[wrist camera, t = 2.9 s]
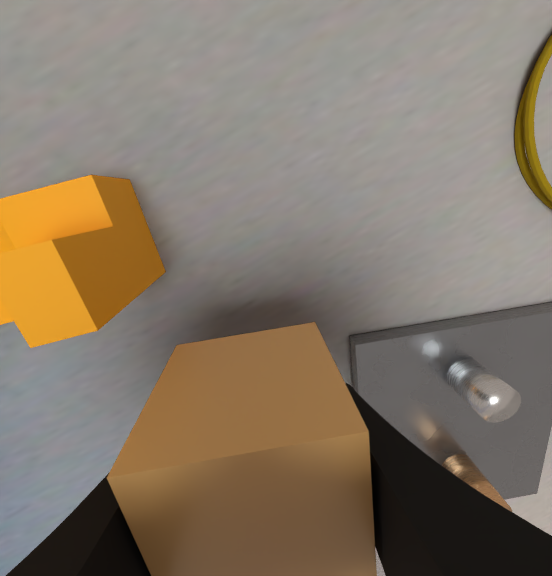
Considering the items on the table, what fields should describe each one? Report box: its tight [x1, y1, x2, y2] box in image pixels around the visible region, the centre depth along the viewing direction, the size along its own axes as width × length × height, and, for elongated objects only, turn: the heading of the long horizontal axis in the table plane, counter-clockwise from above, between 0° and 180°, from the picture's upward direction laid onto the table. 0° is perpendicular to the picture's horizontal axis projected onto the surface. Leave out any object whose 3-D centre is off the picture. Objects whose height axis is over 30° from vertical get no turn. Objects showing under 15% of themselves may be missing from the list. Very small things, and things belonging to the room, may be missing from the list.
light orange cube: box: [107, 322, 377, 576], centre depth 8 cm, size 5×5×5 cm
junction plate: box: [349, 302, 552, 512], centre depth 16 cm, size 14×12×4 cm
